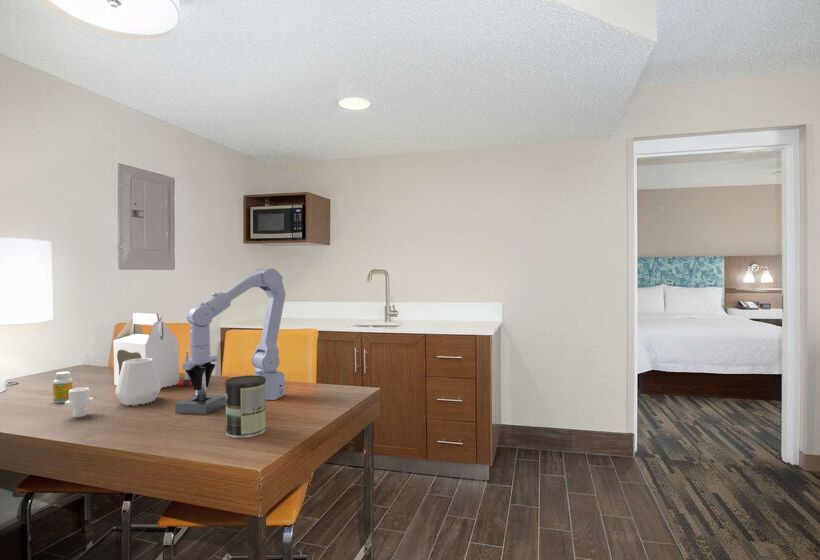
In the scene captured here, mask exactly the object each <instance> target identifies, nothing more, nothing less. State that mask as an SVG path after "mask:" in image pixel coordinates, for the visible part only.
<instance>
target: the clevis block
mask: <svg viewBox="0 0 820 560" xmlns="http://www.w3.org/2000/svg"><path fill="white" fill-rule="evenodd" d="M174 405H175V406H174V407H175V409H174V411H175V414H182V413H192V414H191V415H203V414H207V415H208V413H209V414H211V413H213V412H215V411H217V410H219V409H222V408H224V407H226V406H225V405H226V395H211V394H206V399H205V400H201V401H197V400H196V394H195V395H193V396H191V397H188V398H186V399H182V400H181V401H178V402H176V403H174ZM223 406H224V407H223ZM214 410H215V411H214ZM212 411H213V412H212ZM210 412H211V413H210Z"/></svg>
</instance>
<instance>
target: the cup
mask: <svg viewBox="0 0 820 560" xmlns="http://www.w3.org/2000/svg"><path fill="white" fill-rule="evenodd" d="M161 389H162V388H161V385H160V382H159V379H158V375H157V372H156V369H155V366H154V362H153V359H150V358H140V359H131V360H126V361H124V362H123V364H122V368H121V371H120V375H119V379H118V383H117V386H116V387H115V396H116V397H117V398H118V400H119V401H120V402H121V404H122V405H123V404H125V405H124V406H129V405H132V406H139V405H138V404H142V405H145V403H147V404H150V403H152V401H153V402H154V401H155V400H156V399H157V396H158V394H159V393H160V392H161ZM149 402H150V403H149Z"/></svg>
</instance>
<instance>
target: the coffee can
mask: <svg viewBox="0 0 820 560" xmlns="http://www.w3.org/2000/svg"><path fill="white" fill-rule="evenodd" d="M265 381H266V378H265V377H263V376H256V375H255V374H254V375H252V374H250V375H240V376H235V377H231V378H228V379H226V380H224V385H225V386H224V387H225V396H226V406H225V423H226V424H225V429H226V430H225V431H226V432H225V435H226V436H227V437H229V438H233V439H247V438H248V439H249V438H253V437H257V436H261V435H262V434H264V433H265V432H266V431H267V424H266V423H267V420H266V418H267V417H266V416H267V413H266V408H267V407H266V400H265Z"/></svg>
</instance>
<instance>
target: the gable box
mask: <svg viewBox="0 0 820 560" xmlns="http://www.w3.org/2000/svg"><path fill="white" fill-rule="evenodd" d="M162 318H163V316H161V315H159V314H158V313H153V312H151V313H150V312H133V313H132V319H130V320H128V321H127V322H126V324H125V325H124V327H123V328H122V329H121V330H120V331H119V333H118V335H117V336H116V337H115V338H114V340H113V343H112V345H113V383H114V386H116V385H117V383H118V379H119V375H120V371H121V368H122V364H123V362H124V361H126V360H131V359H140V358H150V359H153V362H154V366H155V369H156V372H157V375H158V379H159V382H160V385H161V389H164V388H163V387H165V388H168V387H167V386H169V387H173V386H172V385H174V386H177V385H176V384H178V382H180V356H179V355H180V353H179V352H180V351H179V349H180V348H179V346H180V345H179V344H180V343H179V339H178V338H177V337H176V336H175V335H174V333H173V332H172V331H171V329H170V328H169V327H168V326H167V324H166V323H165V322H164V321H162ZM141 325H144V326H152V328H151V330H150V332H149V334H145V332H144V330H143V328H142V327H141Z"/></svg>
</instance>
